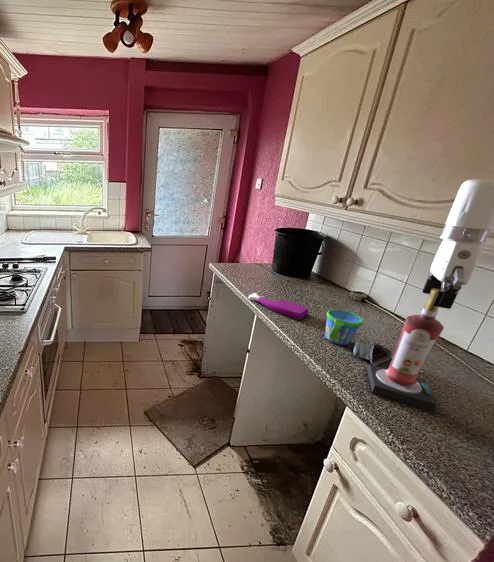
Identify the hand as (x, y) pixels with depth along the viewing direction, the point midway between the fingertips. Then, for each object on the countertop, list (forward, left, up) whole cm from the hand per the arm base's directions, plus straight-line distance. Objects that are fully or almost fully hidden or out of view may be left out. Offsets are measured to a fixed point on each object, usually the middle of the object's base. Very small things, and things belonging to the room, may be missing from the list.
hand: (435, 300), depth 80 cm
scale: (0, 0, -28) cm, 28 cm away
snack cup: (+14, -22, -29) cm, 39 cm away
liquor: (0, 0, -26) cm, 26 cm away
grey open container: (+5, -16, -29) cm, 33 cm away
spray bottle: (+36, -40, -29) cm, 61 cm away
